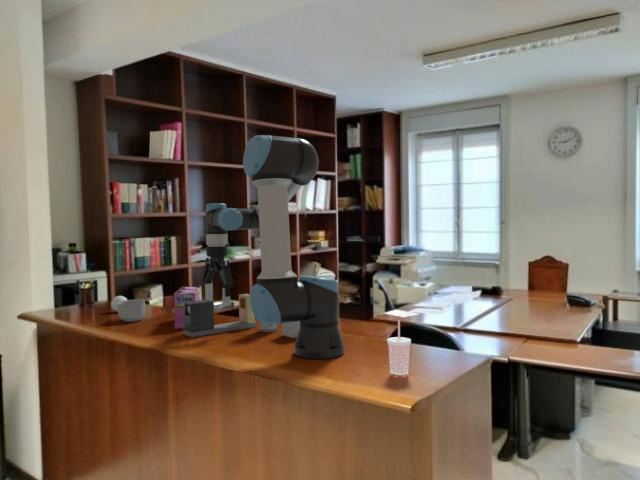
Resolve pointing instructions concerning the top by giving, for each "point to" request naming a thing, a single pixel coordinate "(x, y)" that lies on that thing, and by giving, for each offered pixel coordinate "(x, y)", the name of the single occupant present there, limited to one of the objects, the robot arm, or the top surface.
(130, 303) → the teacup
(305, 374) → the top surface
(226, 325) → the base board
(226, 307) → the slip tube
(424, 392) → the top surface
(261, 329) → the travel mug
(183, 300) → the gum box
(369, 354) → the top surface
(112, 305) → the white ovoid
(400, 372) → the beverage cup
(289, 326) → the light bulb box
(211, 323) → the sleeve and socket
